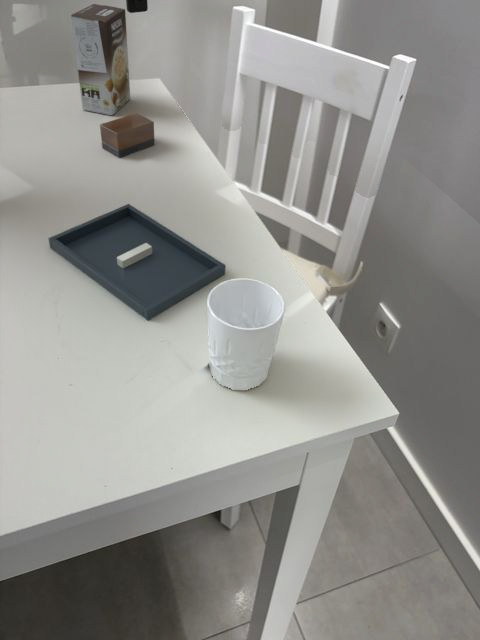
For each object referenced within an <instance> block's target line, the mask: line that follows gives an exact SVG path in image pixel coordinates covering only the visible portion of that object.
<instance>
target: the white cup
mask: <svg viewBox="0 0 480 640" xmlns="http://www.w3.org/2000/svg"><path fill="white" fill-rule="evenodd" d="M206 300H207V301H206V302H207V303H206V306H207V308H206V310H207V312H206V313H207V351H208V368H209V367H210V368H209V371H210V375H211V374H212V375H211V377H212V376H213V377H212V378H213V380H215V379H216V380H217V381H218V382H219V383H218V382H217V381H216V380H215V381H216V382H217V383H218V385H220V384H221V385H223V386H222V387H224V386H226V387H228V388H227V389H229V388H231V389H232V391H245V390H246V391H249V390H251V389H250V388H252V389H255V388H257V387H256V386H258V387H259V386H261V384H262V383H264V382H265V381H266V379H267V378H268V373H269V369H270V366H271V363H272V360H273V358H274V355H275V351H276V349H277V348H276V347H277V344H278V340H279V336H280V331H281V328H282V324H283V319H284V315H285V312H286V302H285V300H284V297H283V295H282V294H281V293H280V292H279V291H278V290H277V289H276V288H274V287H273V286H272V285H270V284H268V283H266V282H265V281H264V282H263V281H261V280H257V279H253V278H247V277H246V278H245V277H244V278H242V277H240V278H231V279H228V280H225V281H222V282H220V283H217V285H215V286H214V287H212V289H211V290H210V291H209V293H208V295H207V299H206ZM221 385H220V386H221ZM226 387H225V388H226ZM254 387H255V388H254ZM231 389H230V390H231ZM248 389H249V390H248Z"/></svg>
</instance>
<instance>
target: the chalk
mask: <svg viewBox="0 0 480 640" xmlns="http://www.w3.org/2000/svg"><path fill="white" fill-rule="evenodd" d="M151 254H152V246H150V245H149V244H147V243H144V244H142V245H140V246H138V247H136V248H134V249H132V250H130V251H128V252H126V253H124V254H122V255H120V256H118V257H117V265H119V266H120V267H122V268H125V267H127V266H129V265H131V264H133V263H135V262H137V261H139V260H141V259H143V258H145V257H147V256H149V255H151Z"/></svg>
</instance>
